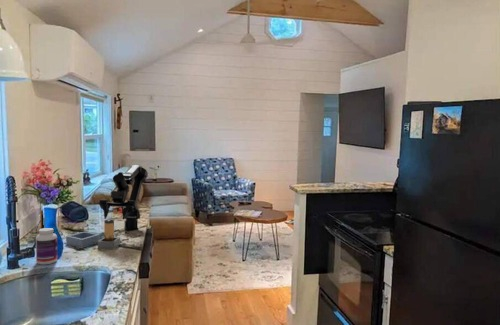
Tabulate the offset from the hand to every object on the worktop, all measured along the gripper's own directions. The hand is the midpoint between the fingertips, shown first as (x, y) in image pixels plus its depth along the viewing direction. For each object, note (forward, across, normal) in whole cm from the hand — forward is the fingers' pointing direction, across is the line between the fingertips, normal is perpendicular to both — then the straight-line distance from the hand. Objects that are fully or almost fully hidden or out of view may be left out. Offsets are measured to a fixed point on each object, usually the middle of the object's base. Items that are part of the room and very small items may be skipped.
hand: (114, 218), depth 190 cm
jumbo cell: (+13, 0, +4) cm, 14 cm away
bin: (+11, -14, +7) cm, 19 cm away
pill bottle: (+30, -17, -12) cm, 37 cm away
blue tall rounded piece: (0, -38, +18) cm, 42 cm away
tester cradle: (+13, 0, +4) cm, 14 cm away
